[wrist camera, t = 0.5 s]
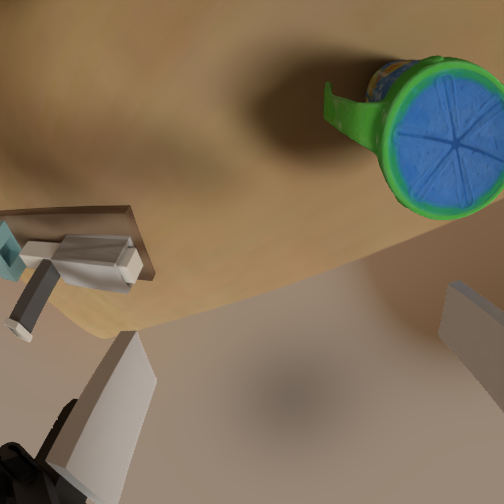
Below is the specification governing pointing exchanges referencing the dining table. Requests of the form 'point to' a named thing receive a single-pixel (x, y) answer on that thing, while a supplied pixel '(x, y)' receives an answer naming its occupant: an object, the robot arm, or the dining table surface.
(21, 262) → the socket
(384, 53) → the dining table surface
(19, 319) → the tube
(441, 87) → the snack cup
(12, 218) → the long brown base plank
